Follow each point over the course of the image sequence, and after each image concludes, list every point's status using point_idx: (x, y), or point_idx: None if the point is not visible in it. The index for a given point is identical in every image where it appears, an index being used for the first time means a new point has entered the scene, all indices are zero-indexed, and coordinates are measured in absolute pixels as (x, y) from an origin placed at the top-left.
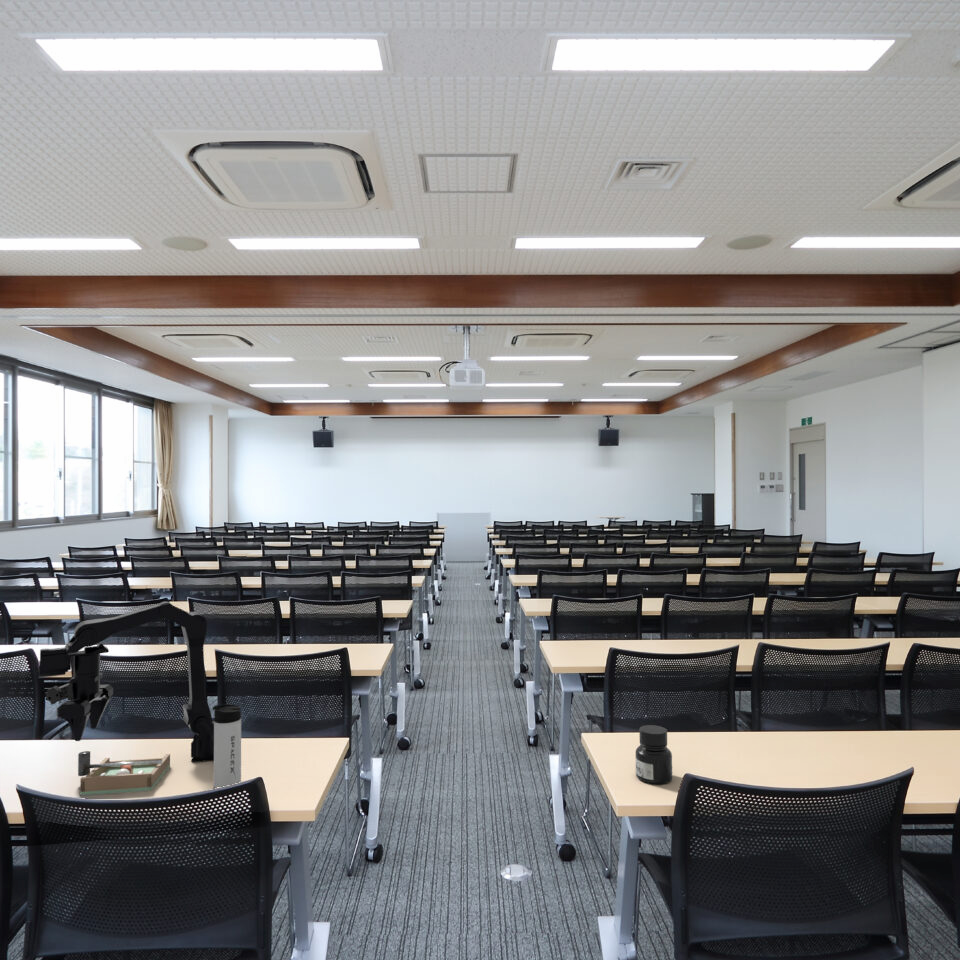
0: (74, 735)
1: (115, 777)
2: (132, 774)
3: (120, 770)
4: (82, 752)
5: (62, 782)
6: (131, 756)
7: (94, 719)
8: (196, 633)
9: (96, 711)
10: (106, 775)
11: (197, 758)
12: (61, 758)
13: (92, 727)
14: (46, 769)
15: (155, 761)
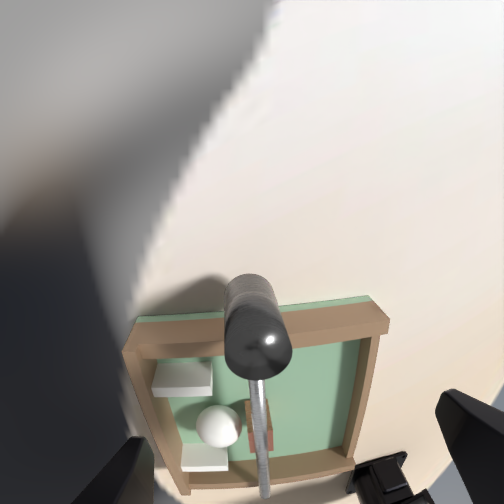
0: (106, 473)
1: (155, 439)
2: (172, 470)
3: (211, 438)
4: (270, 340)
5: (274, 178)
6: (463, 313)
7: (473, 450)
8: None
9: (501, 499)
10: (158, 420)
11: (362, 473)
12: (491, 82)
13: (443, 403)
14: (415, 56)
15: (261, 491)
